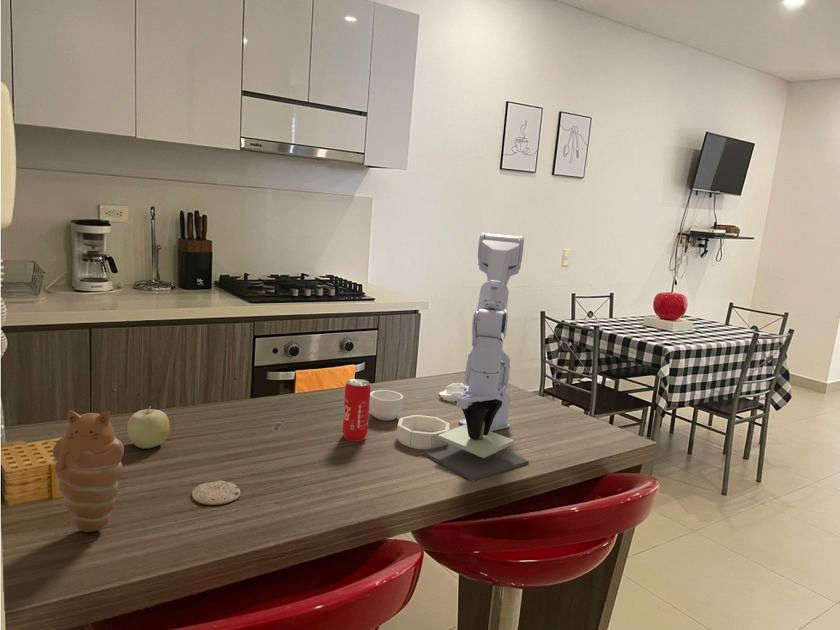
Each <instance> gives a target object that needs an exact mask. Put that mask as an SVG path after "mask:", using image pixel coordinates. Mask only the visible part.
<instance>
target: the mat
mask: <svg viewBox="0 0 840 630" xmlns="http://www.w3.org/2000/svg"><path fill="white" fill-rule="evenodd" d="M422 455H424V456H426V458H429V459H431V460H433V461H434V462H435V463H438V464H440V465H441V466H443V467H445V468H447V469H449V470H450V471H452V472H454V473H456V474H458V475H460V476H462V477H464V478H465V479H467V480H469V481H471V482H473V480H474V481H477V480H480V479H483V478H487V477H490V476H492V475H495V474H499V473H503V472H506V471H509V470H513V469H515V468H518V467H522V466H525V465H528V464H529V462H530V460H528V459H526V458H524V457H523V456H519V455H518V454H516V453H513V452H511V451H509V450H507V449H506V448H504V449H502V450H500V451H498V452H495V453H493V454H491V455H489V456H487V457H485V458H482V457H480V456H477V455H475V454H473V453H470V452H468V451H465V450H463V449H461V448H458V447H456V446H453V445H451V444H447V445H446V446H443V447H439V448H435V449H431V450H422Z"/></svg>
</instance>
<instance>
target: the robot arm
mask: <svg viewBox="0 0 840 630" xmlns="http://www.w3.org/2000/svg"><path fill="white" fill-rule="evenodd" d="M524 244H525V238H524V236H522V235H518V236H517V235H509V234H508V235H506V234H497V233H486V232H482V233H481V234H480V235H479V240H478V248H477V259H478V261H477V263H478V265H477V266H479V269H478V270H480V271H481V272H483V273H485V274H486V277H487V281H485V282H484V283H483V284H482V285H481V286H480V289H479V290H480V291H479V297H478V303H477V307H476V308H477V310H474V311H473V312H474V313H473V315H472V316H473V317H472V323H471V324H472V325H471V326H472V327H471V335H472V336H471V337H472V339H471V340H472V341H471V347H472V349H471V350H470V351H469V353H468V356H467V361H466V365H465V371H464V372H465V373H464V375H465V376H464V383H465V386H467V387H464V391H465V392H464V393H463V394H462V395H461V396H459V397H457V402H456V405H455V406H456V408H458V409H459V408H460V409H461V410H462V413H463V415H464V419H460V420H458V424H461V426H463V425H465V424H467V429H468V436H469V437H471V438H474V439H479V437H480V434H481V429H482V424H483V420H484V421H485V427H484V434H483V435H485V436H486V435H488V433H489V431H491V432H495V431H498V430H502V429H507V428H511V424H509V422H508V421H509V416H510V415H509V413H510V403H511V397H510V394H509V392H508V390H507V389H508V387H509V378H510V371H511V368H510V367H511V358H510V355H509V354H508V353H507V352H506V351H505V350H504V349H503V344H504V341H505V339H506V336H507V329H508V328H507V327H508V318H509V314H508V300H509V293H510V291H509V288H508V286H507V285H508V283H509V281H510V278H511V277H512V276H514V275H517V274H519V272H520V270H521V265H522V261H523V254H524V246H525V245H524ZM502 334H503V337H501V336H502Z"/></svg>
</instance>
